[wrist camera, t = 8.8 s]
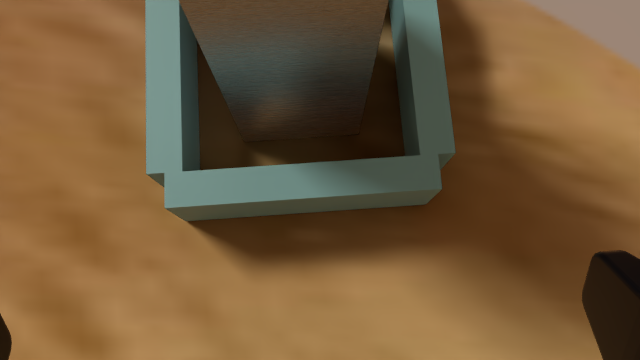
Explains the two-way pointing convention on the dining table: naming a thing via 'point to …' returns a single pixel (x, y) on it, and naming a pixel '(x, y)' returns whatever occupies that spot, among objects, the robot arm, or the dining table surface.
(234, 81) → the gray rectangular block
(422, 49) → the teal square shallow tray
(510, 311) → the dining table surface
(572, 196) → the dining table surface
